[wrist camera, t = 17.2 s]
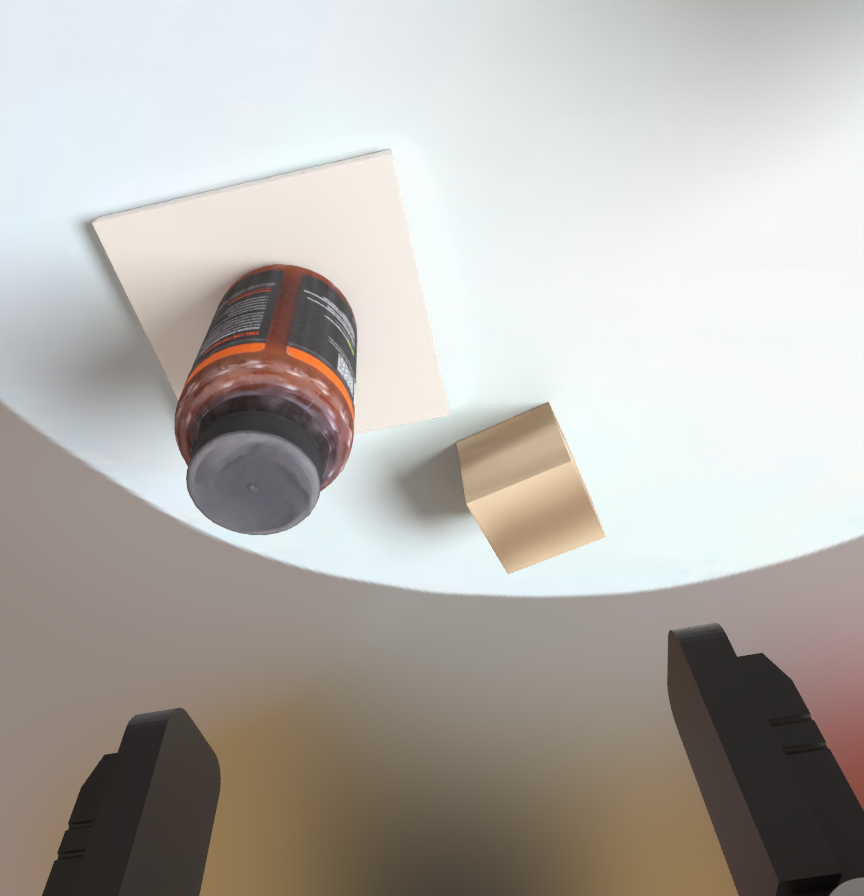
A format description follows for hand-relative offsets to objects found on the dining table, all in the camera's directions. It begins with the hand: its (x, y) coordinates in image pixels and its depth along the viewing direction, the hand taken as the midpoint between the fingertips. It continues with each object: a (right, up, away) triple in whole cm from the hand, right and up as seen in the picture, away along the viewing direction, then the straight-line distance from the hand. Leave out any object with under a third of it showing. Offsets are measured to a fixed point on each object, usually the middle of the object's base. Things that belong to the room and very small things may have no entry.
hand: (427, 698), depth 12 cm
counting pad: (-6, +10, +19) cm, 23 cm away
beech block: (+5, +4, +25) cm, 25 cm away
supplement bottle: (-6, +9, +19) cm, 22 cm away
